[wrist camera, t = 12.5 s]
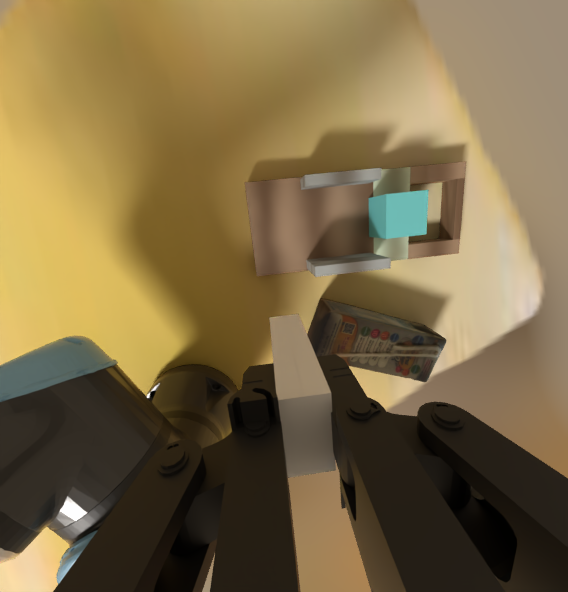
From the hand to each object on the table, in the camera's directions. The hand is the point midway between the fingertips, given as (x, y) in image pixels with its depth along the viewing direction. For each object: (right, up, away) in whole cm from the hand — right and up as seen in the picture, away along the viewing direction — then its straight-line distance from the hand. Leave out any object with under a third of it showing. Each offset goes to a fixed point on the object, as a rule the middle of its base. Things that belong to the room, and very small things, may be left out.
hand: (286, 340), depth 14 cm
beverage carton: (+13, -4, +30) cm, 33 cm away
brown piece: (+9, +13, +25) cm, 29 cm away
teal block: (+14, +13, +22) cm, 29 cm away
